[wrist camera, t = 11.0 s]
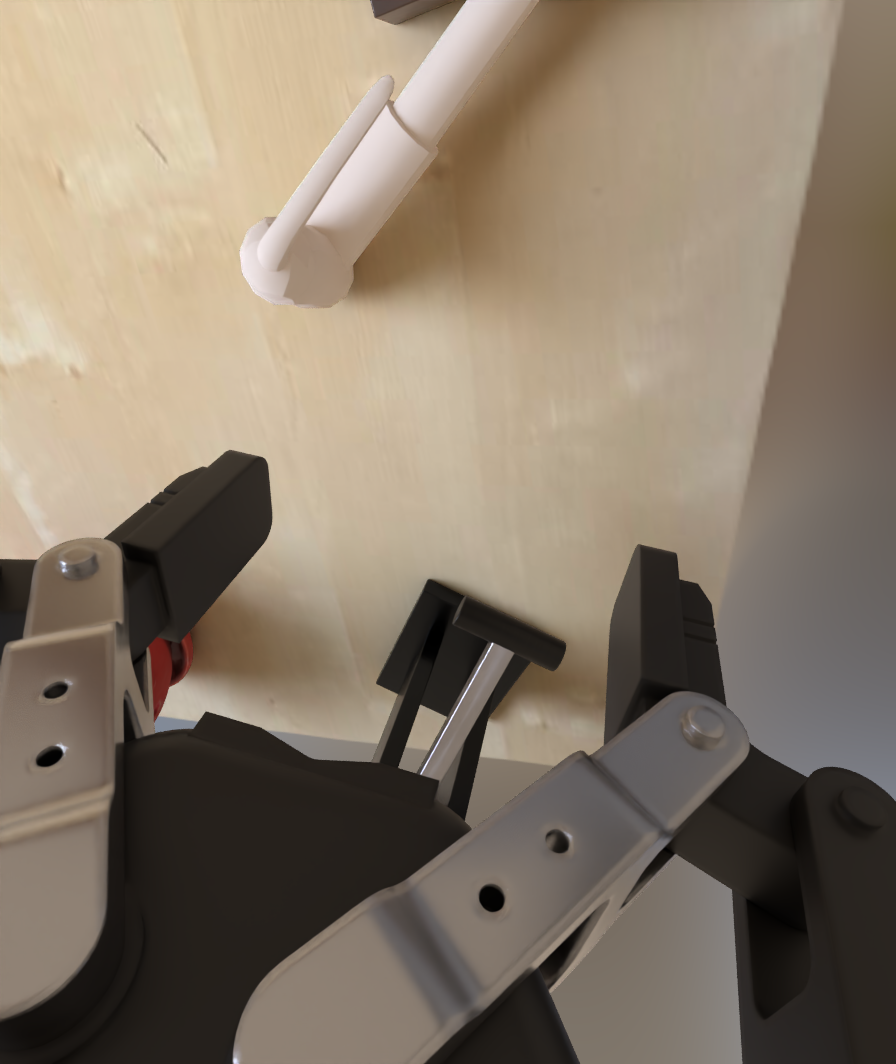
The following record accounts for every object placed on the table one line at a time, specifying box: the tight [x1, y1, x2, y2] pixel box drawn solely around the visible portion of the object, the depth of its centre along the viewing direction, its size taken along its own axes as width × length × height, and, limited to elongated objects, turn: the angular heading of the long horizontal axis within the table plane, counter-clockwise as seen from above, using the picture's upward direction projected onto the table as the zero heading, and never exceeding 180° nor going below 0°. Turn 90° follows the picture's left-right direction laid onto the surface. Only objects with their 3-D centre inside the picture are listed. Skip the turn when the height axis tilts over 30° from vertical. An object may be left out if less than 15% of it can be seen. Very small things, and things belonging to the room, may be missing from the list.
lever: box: [416, 596, 566, 799], centre depth 29 cm, size 14×5×2 cm, turn 158°
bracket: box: [372, 579, 531, 821], centre depth 35 cm, size 10×8×14 cm
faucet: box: [240, 0, 539, 308], centre depth 21 cm, size 4×18×10 cm, turn 137°
